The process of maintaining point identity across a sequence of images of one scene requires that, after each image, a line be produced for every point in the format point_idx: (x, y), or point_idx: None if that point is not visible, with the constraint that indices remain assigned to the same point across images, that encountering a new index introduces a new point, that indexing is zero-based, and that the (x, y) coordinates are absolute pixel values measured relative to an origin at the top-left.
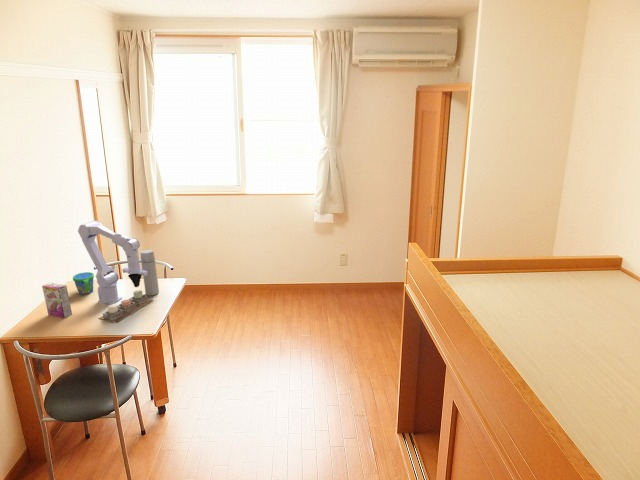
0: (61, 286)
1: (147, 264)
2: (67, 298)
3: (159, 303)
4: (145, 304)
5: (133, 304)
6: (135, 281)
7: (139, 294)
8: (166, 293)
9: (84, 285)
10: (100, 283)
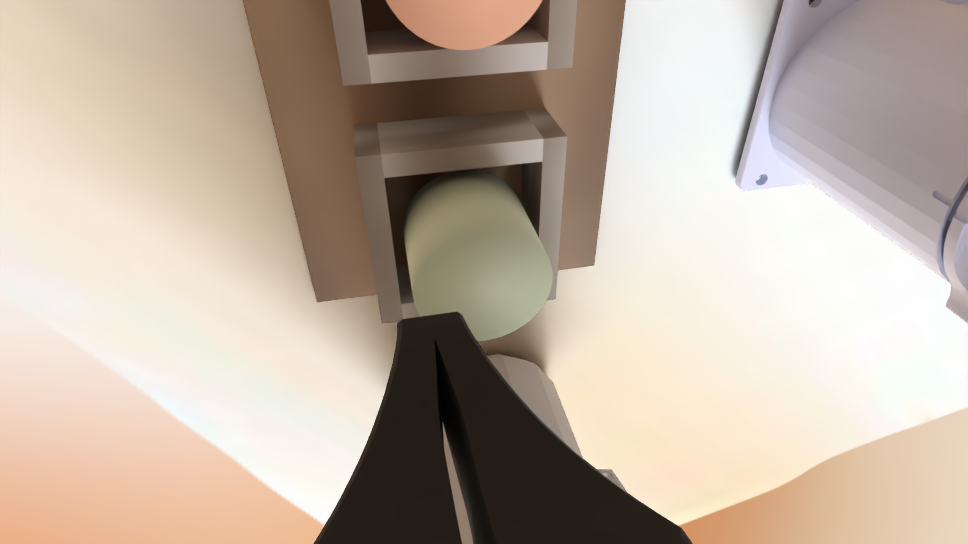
0: None
1: None
2: None
3: (173, 283)
4: (297, 177)
5: (330, 5)
6: (383, 444)
7: (415, 257)
8: (345, 451)
9: None
10: None
